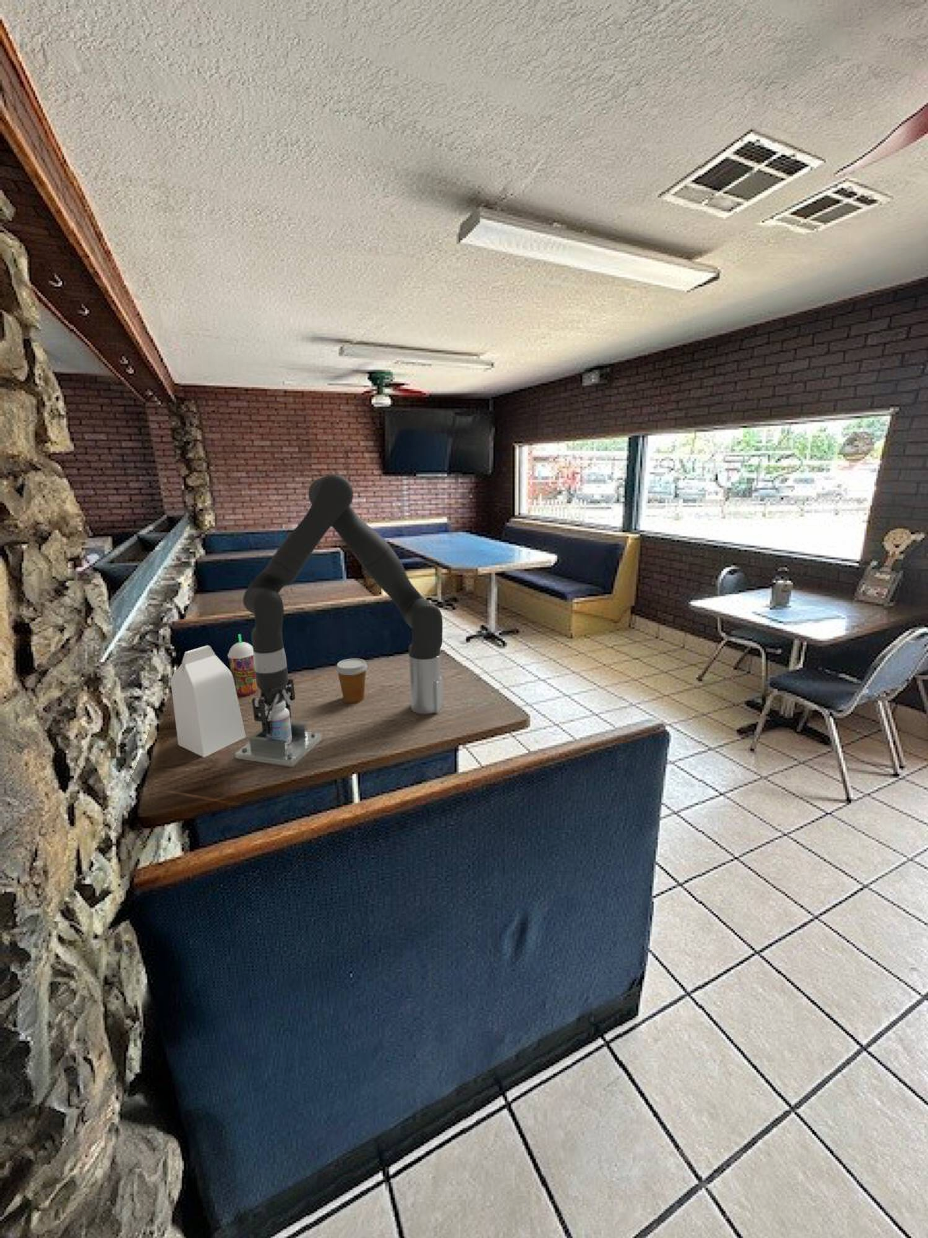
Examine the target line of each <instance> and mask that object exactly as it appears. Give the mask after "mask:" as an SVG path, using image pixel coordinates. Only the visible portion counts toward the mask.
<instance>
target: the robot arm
mask: <svg viewBox="0 0 928 1238" xmlns="http://www.w3.org/2000/svg"><path fill="white" fill-rule="evenodd" d="M353 498H354V489H353V486H352V484H351V482H350V481H349V480H348V479H347V478H346V477H344V476H342V475H339V474H329V475H325V476H321V477H320V478H319V477H318V478H317V479H315V480H314V481H312V483H311V484H310V485H309V487H308V500H309V502H310V504H311V506H310V508H309V509H308V511H307V512H306V514H305V516H304V517H303V518H302V520H300V522H299V524H298V525H297V526H296V527H295V528H294V529H293V531H291V533H290V534H289V535H288V536H287V537H286V538H285V540H283V542H282V543H281V544H280V545H279V547H278V549H277V550H276V552H275V553H274V555H273V557H271V560H270V561H269V562H268V563H267V564H268V565H267V566H266V567H265V568H264V569H263V570H262V571H261V572H260V573H259V574H258V575H257V576H256V577H255V579H254V580H253V581H251V583H250V584H249V585H248V587H247V588H246V590H245V591H244V595H243V597H242V603H243V606H244V608H245V609H246V610H247V611H248V612H250V613H252V614H253V615H254V627H253V628H252V630H251V633H250V635H251V644H252V645H251V646H252V647H253V662H254V669H255V677H256V684H257V686H258V689H259V690H260V696H258V697H253V698H252V700H251V704H252V713H253V720H254V721H255V722H261V729H262V730H263V733H264V734H271V733H272V732H273V730H272V722H271V716H272V712H274V711H275V707H276V705H277V704H278V703H280V702H282V700H285V703H286V707H285V708H287V709H288V710H289V714H290V719H291V718H292V710H291V709H292V708H291V705H293V704H292V702H293V701H295V700H296V694H295V693H296V691H295V684H294V679H293V678H292V679H291V678H289V675H288V664H287V657H286V651H285V647H284V639H283V632H282V630H283V623H284V614H285V613H284V611H285V608H284V602H283V599H282V596H281V595H280V592H281V590H282V589H283V588H284V587H287V586H290V585H292V584H293V583H294V581H295V580H296V578H297V577H298V575H299V574H300V572H301V571H302V570H303V568H304V566H305V564H306V563H307V561H308V560H309V558H310V557H311V555H312V553H313V552H314V550H315V548H316V547H317V546H318V545H319V543H320V542H321V540H322V539H323V537H324V536H325V534H326V533H327V532H328V531H329V529H330V528H331V527H332V529H334V531H335V532H336V533H337V534H338V535H339V537H340V538H341V539H342V541H343V542H344V544H345V545H346V546H347V548H348V549H349V550H350V552H351V553H352V554H353V556H354V557H355V558H356V559H357V561H358V562H359V563H360V565H361V566H362V568H364V570H365V572H366V573H367V574H368V575H369V576H370V577H371V579H372V580H373V581H374V582H375V583H376V584H377V586H378V587H380V588H381V590H382V591H384V593H386V594H387V595H388V597H390V599H391V601H392V602H393V603H394V605H395V606H396V608H397V610H398V611H399V613H400V614H401V616H402V618H403V620H404V622H405V623H406V624H407V625H408V626H409V628H410V629H411V643H410V644H409V645H408V664H409V691H410V693H409V694H410V709H411V710H412V712H414V713H416V714H419V715H427V714H428V715H430V714H438V713H439V712H440V710H441V708H443V706H444V680H443V679H444V677H443V676H442V675H441V673H442V671H441V648H442V645H443V629H444V628H443V626H444V625H443V615H442V611H441V610H440V608H439V607H438V606H436V605H435V604H433V603H432V602H430V600H429V601H428V600H427V599H426V598H425V597H423V595H422V594H421V593H420V592H419V591H418V590H417V588H416V587H415V586H414V585H413V583H411V580H410V578H409V577H408V574H407V571H406V570H405V567H404V565H403V563H402V562H401V560H400V558H399V557H398V555H397V554H396V553H395V551H394V549H393V548H392V546H391V545H390V544H389V543H388V542H387V540H385V539H384V538H383V537H382V536H381V534H379V533H378V532H377V531H376V530H374V529H373V528H372V527H371V526H369V525H368V524H367V523H366V522H365V521H363V519H361V517H359V515H358V514H357V513H356V512H355V510H354V509H353V507H352V506H351V504H352V502H353ZM289 693H290V694H289ZM266 705H267V706H271V707H270V708H266ZM266 711H268V714H267V716H266V714H265V713H266Z"/></svg>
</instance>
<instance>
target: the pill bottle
mask: <svg viewBox="0 0 928 1238" xmlns="http://www.w3.org/2000/svg"><path fill="white" fill-rule="evenodd" d="M265 707H266V708H270V707H271V706H267V705H265ZM285 707H286V703H285V700H282V702H280V703H278V704H277V705H276V707H275V711H274V712H272V716H271V722H272V730H273V732H272V733H271V734H266V737H267V738H269V739H277V740H284V741H287V745H288V744H289V743H290V742H291V741H292V733H291V724H290V722H291V718H290V714H289V710H288V709H287V708H285ZM265 714H266V716H267V714H268V711H266V712H265Z"/></svg>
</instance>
